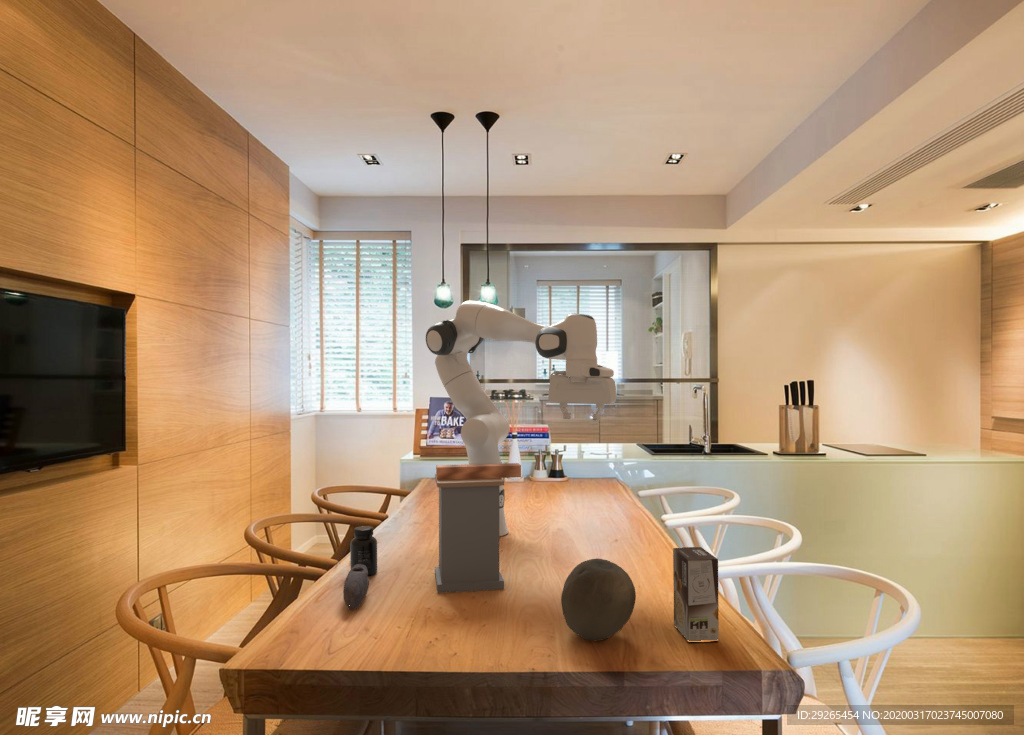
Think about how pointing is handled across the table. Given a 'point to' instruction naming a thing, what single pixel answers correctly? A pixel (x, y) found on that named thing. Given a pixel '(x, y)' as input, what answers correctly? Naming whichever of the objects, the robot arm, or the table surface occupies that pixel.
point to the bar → (478, 471)
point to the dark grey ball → (597, 599)
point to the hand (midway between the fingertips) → (581, 419)
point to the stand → (468, 535)
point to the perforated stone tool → (356, 586)
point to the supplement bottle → (364, 549)
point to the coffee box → (696, 593)
